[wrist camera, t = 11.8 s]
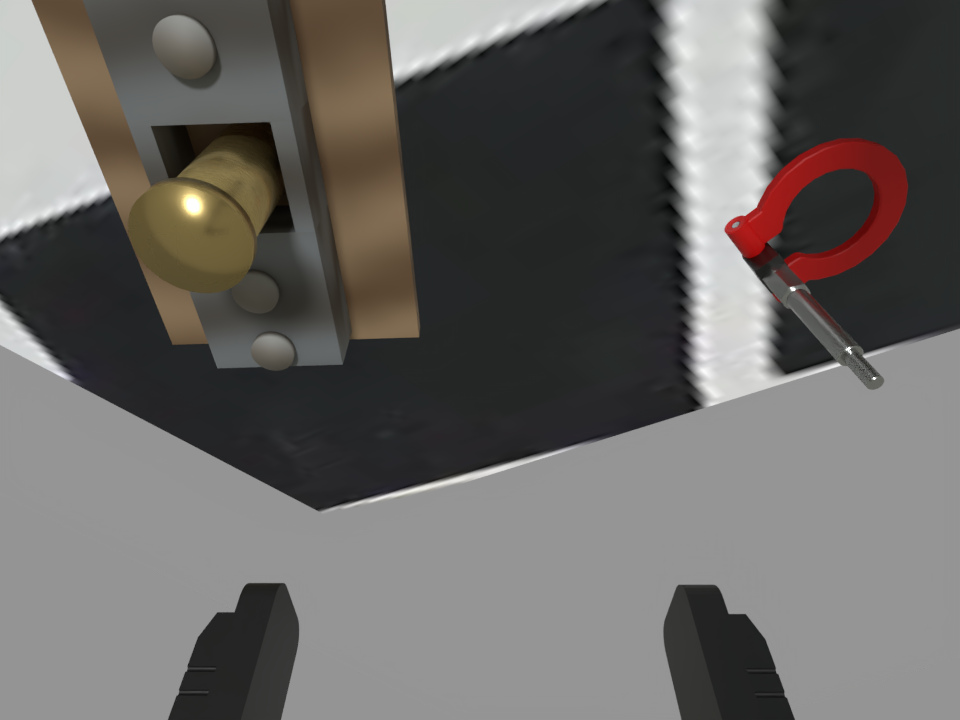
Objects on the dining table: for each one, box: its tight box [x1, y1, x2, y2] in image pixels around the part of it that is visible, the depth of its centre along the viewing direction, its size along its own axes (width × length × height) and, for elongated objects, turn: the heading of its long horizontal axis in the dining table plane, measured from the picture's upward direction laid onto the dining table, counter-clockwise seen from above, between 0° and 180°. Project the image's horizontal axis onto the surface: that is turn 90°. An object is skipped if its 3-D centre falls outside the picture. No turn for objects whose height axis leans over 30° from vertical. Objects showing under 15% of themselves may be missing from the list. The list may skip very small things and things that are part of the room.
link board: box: [31, 0, 420, 371], centre depth 32 cm, size 24×16×5 cm, turn 2°
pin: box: [128, 122, 286, 293], centre depth 29 cm, size 5×5×10 cm
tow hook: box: [724, 138, 908, 390], centre depth 31 cm, size 8×13×9 cm
